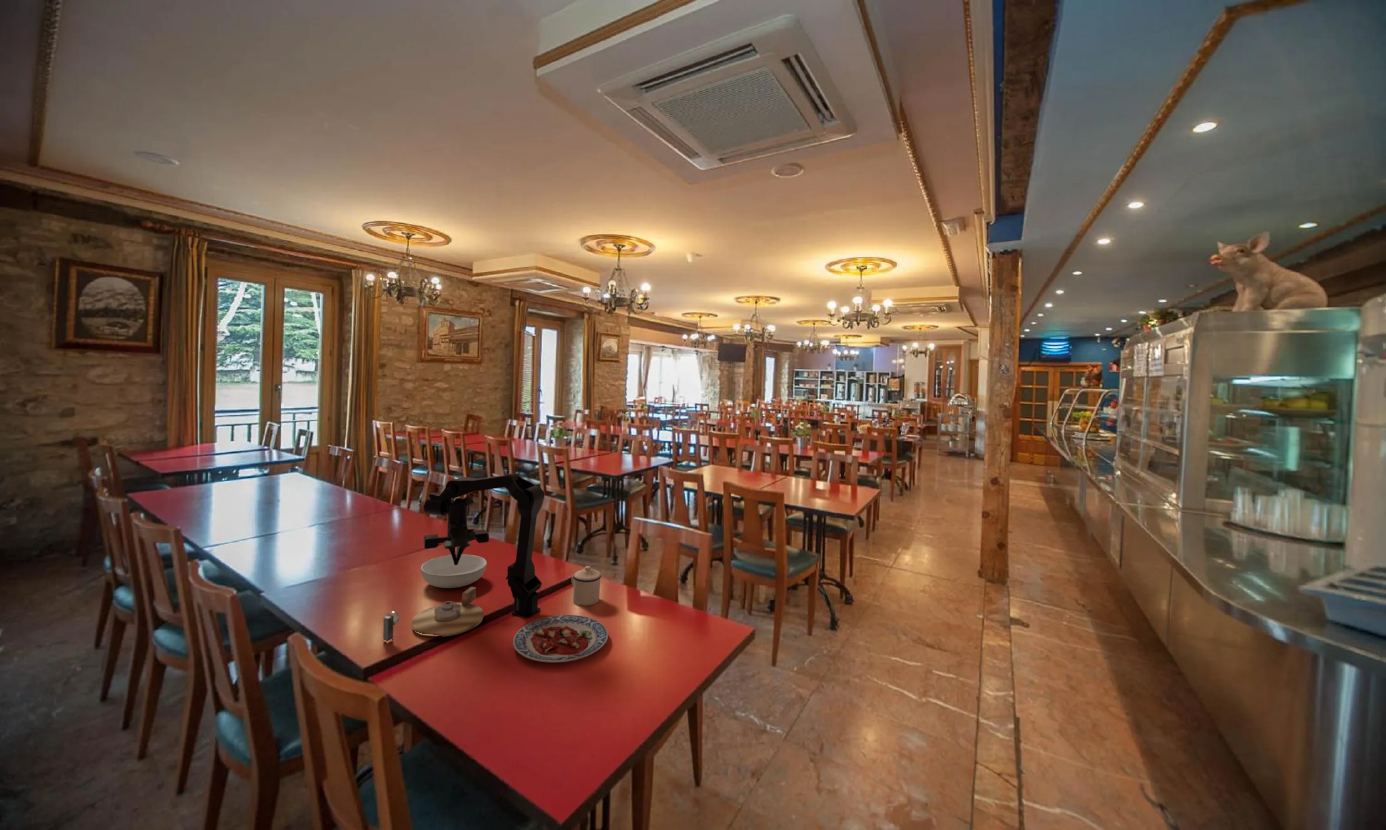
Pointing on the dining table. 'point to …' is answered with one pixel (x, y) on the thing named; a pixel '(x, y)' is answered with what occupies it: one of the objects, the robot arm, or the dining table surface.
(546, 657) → the ceramic plate
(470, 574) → the serving bowl
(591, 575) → the teacup with lid
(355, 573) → the dining table surface
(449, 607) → the cover
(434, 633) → the tan piece
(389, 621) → the dial gauge
